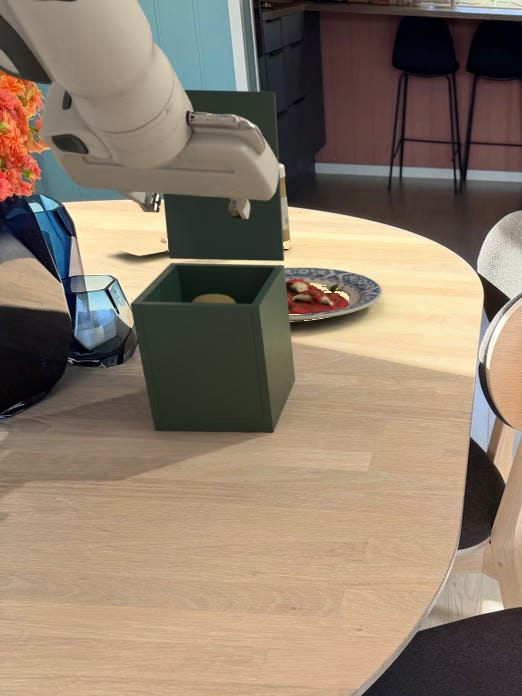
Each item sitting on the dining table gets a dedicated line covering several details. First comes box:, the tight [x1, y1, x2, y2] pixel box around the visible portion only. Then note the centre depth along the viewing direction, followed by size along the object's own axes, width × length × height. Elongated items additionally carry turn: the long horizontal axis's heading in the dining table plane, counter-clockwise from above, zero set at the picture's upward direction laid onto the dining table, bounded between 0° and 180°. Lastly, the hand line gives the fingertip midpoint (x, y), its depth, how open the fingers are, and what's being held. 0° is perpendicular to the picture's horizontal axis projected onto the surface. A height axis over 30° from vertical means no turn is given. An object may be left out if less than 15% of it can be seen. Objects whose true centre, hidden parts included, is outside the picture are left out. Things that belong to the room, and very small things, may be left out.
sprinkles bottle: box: [279, 162, 291, 242], centre depth 161 cm, size 5×5×13 cm
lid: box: [162, 89, 285, 262], centre depth 102 cm, size 17×13×1 cm
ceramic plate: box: [284, 267, 383, 321], centre depth 137 cm, size 26×26×3 cm
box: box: [129, 262, 296, 433], centre depth 103 cm, size 16×13×13 cm
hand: (197, 209), depth 94 cm, fingers open, 8 cm apart
